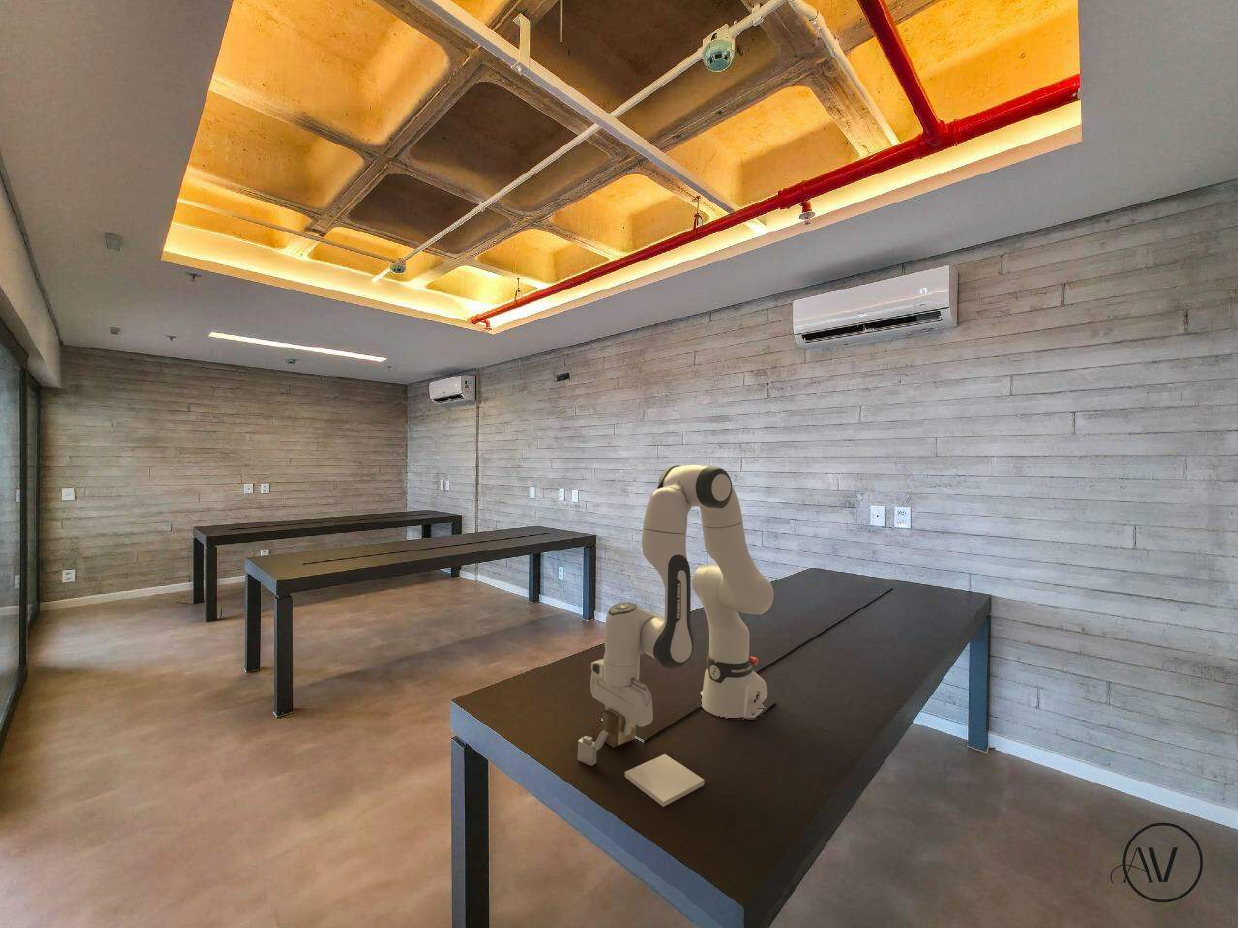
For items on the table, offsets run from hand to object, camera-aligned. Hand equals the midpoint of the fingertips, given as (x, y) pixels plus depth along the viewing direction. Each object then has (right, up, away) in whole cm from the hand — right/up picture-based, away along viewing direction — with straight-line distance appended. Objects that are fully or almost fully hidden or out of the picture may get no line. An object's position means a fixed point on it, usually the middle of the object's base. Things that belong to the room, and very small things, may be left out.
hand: (619, 728), depth 124 cm
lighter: (-6, -3, -10) cm, 12 cm away
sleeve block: (0, -3, 0) cm, 3 cm away
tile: (+10, -3, -15) cm, 18 cm away
